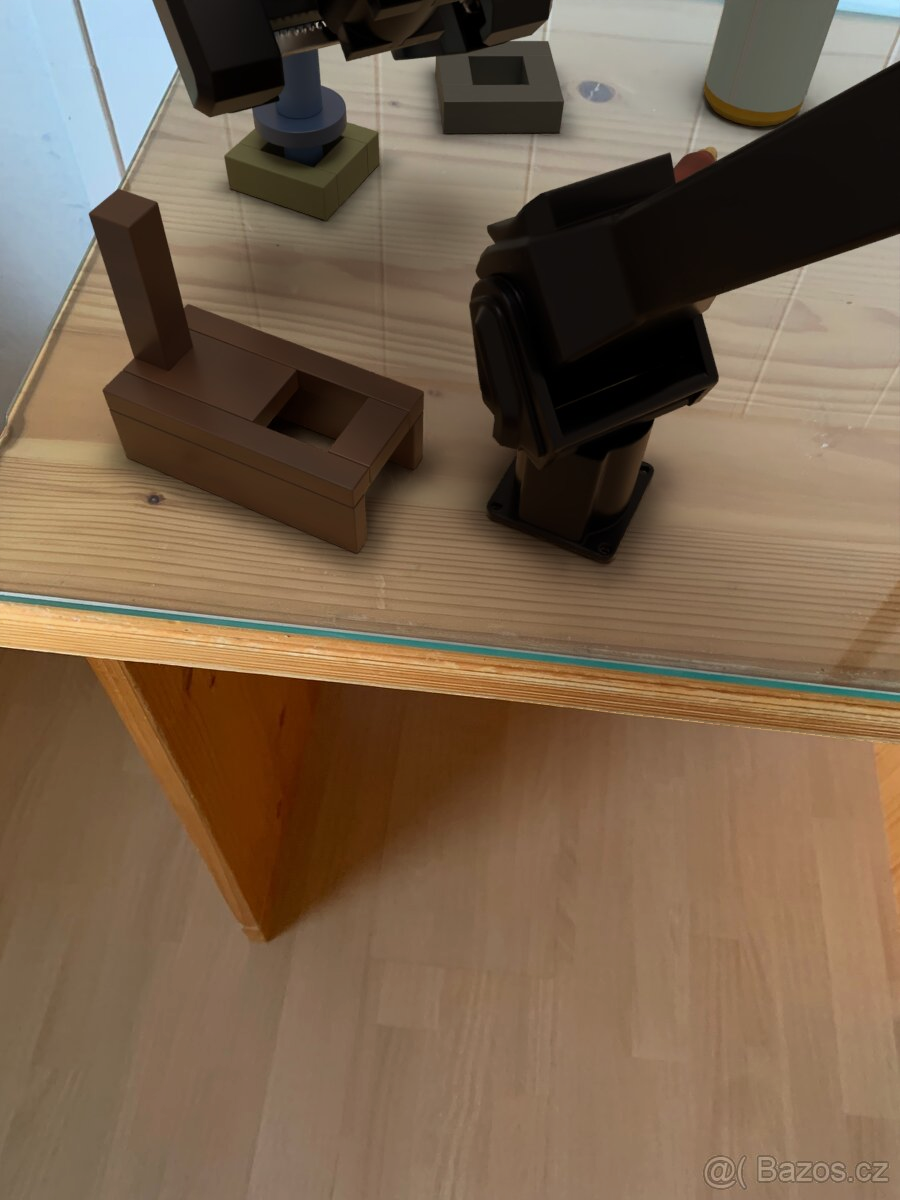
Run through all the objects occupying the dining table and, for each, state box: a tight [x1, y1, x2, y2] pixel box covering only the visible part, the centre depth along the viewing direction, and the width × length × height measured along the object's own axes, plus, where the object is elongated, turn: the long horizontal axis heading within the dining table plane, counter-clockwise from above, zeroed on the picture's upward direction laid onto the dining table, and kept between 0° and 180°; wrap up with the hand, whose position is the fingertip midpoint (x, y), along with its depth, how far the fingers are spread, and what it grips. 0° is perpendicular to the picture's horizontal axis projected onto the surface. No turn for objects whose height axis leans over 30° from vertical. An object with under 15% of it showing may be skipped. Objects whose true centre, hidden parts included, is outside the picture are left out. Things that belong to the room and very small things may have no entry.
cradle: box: [223, 121, 380, 221], centre depth 59 cm, size 7×7×2 cm
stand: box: [88, 188, 425, 554], centre depth 42 cm, size 7×13×12 cm, turn 64°
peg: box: [251, 23, 348, 168], centre depth 56 cm, size 6×6×10 cm
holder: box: [434, 40, 565, 134], centre depth 65 cm, size 8×8×2 cm
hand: (319, 68), depth 51 cm, fingers open, 9 cm apart
